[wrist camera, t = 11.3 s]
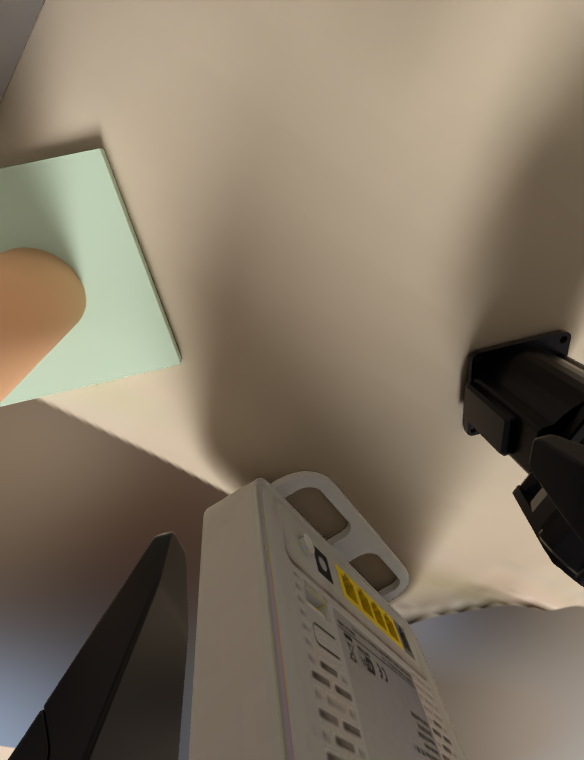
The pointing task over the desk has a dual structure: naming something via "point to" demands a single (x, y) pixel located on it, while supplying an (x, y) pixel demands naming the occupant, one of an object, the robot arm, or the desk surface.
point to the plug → (34, 310)
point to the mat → (86, 272)
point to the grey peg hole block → (15, 34)
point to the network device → (305, 640)
